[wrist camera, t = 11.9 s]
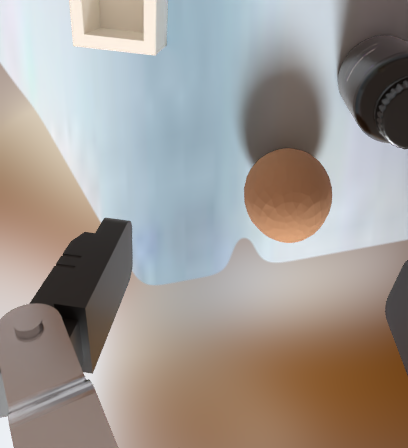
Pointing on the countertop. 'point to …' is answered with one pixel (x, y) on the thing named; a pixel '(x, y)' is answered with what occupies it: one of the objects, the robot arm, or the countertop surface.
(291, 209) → the egg
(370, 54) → the supplement bottle
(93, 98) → the countertop surface
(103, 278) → the robot arm
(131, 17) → the holder cup
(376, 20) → the countertop surface
